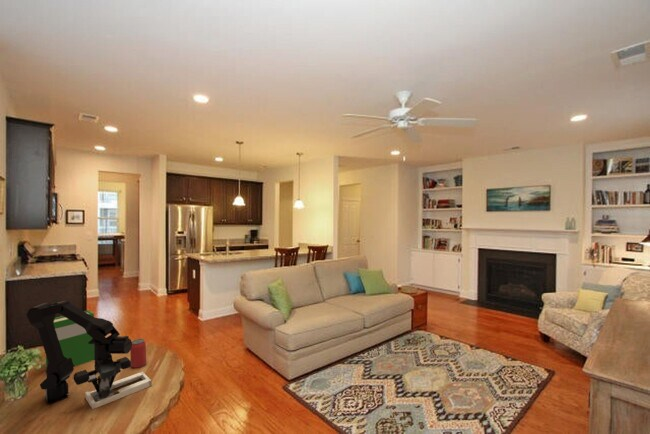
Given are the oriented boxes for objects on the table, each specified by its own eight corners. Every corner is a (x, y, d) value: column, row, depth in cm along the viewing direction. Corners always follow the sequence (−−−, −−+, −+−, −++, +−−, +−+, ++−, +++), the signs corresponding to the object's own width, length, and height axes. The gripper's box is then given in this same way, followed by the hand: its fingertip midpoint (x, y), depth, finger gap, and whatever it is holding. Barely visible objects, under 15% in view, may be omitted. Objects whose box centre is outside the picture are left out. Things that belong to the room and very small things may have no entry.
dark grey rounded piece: (96, 404, 127) (95, 382, 127) (91, 397, 132) (91, 376, 131) (116, 396, 132) (116, 375, 132) (111, 390, 137) (110, 369, 136)
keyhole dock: (92, 409, 125) (92, 403, 124) (85, 397, 132) (85, 392, 132) (151, 385, 141) (151, 380, 141) (142, 376, 148) (142, 371, 148)
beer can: (134, 370, 153) (133, 345, 153) (128, 365, 157) (127, 341, 157) (148, 364, 159) (148, 340, 158) (142, 360, 163) (142, 337, 162)
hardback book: (50, 374, 149) (48, 323, 148) (46, 369, 153) (44, 320, 152) (95, 359, 163) (93, 313, 162) (90, 355, 167) (88, 310, 166)
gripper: (79, 369, 119) (80, 409, 120) (135, 351, 133) (135, 388, 133) (72, 358, 126) (74, 397, 127) (126, 343, 140) (127, 377, 141)
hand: (104, 390), depth 132 cm, fingers closed on dark grey rounded piece, 4 cm apart
